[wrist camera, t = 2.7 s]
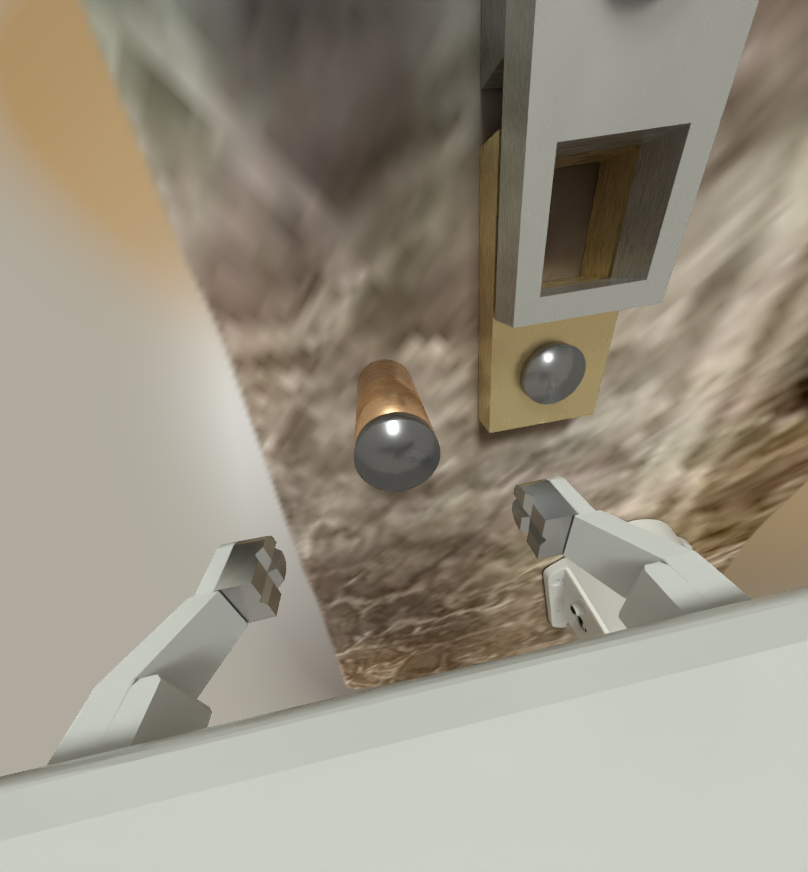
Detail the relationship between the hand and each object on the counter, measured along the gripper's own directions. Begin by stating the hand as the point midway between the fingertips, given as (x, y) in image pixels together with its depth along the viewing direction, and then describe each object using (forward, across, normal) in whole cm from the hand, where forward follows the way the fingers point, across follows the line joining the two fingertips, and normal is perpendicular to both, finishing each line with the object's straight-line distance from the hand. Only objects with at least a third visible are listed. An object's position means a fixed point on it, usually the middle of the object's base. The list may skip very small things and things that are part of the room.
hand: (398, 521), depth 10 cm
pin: (+13, -1, 0) cm, 13 cm away
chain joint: (+13, -12, -8) cm, 19 cm away
